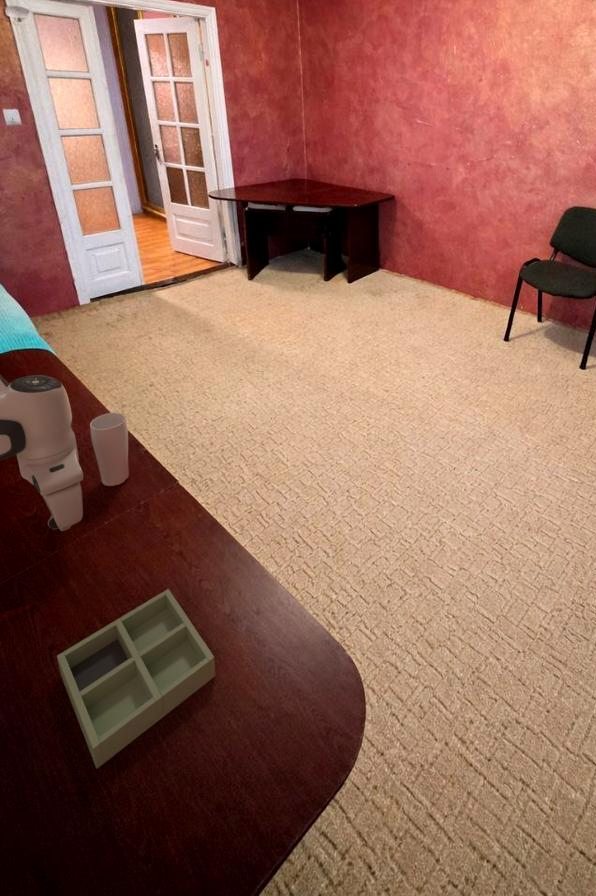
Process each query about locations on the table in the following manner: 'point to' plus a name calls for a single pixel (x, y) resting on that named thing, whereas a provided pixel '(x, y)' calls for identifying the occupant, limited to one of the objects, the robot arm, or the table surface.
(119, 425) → the drinking glass
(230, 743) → the table surface
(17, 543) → the table surface
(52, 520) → the wristwatch
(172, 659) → the tray
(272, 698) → the table surface
